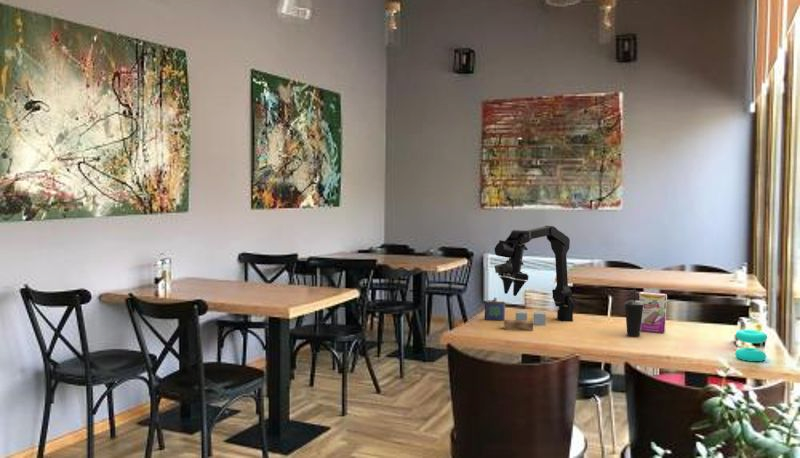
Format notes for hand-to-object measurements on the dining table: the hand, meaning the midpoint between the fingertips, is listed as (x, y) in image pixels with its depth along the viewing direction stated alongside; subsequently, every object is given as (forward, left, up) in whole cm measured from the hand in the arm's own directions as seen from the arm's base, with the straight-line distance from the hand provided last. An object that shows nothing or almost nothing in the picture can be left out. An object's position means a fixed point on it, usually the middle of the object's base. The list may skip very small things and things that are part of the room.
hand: (510, 294), depth 296 cm
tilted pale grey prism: (-5, -11, -14) cm, 19 cm away
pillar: (-13, -11, -14) cm, 22 cm away
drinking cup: (-51, +3, -15) cm, 53 cm away
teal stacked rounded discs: (-87, +34, -15) cm, 95 cm away
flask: (+7, -16, -15) cm, 23 cm away
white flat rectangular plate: (-9, -11, -15) cm, 20 cm away
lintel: (-4, +2, -15) cm, 16 cm away
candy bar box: (-60, -8, -15) cm, 62 cm away
